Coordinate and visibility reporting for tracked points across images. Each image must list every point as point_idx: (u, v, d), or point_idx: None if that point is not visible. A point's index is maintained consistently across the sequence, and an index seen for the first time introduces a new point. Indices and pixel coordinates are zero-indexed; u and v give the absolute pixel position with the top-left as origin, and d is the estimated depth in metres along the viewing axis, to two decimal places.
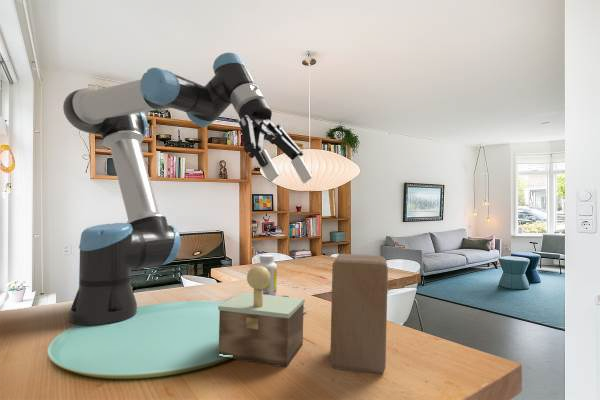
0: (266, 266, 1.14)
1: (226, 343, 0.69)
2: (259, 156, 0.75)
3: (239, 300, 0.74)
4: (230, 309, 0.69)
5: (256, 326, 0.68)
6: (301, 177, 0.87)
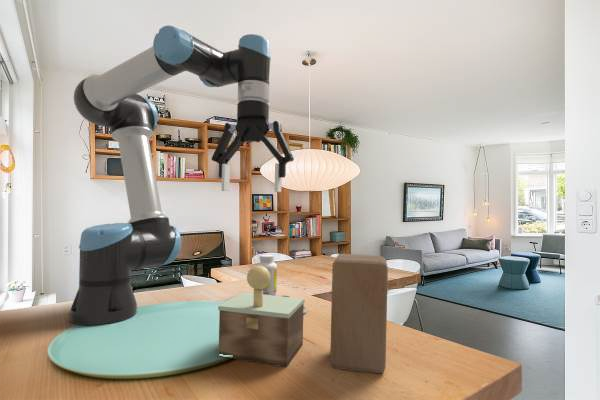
0: (266, 266, 1.14)
1: (226, 343, 0.69)
2: None
3: (239, 300, 0.74)
4: (230, 309, 0.69)
5: (256, 326, 0.68)
6: None
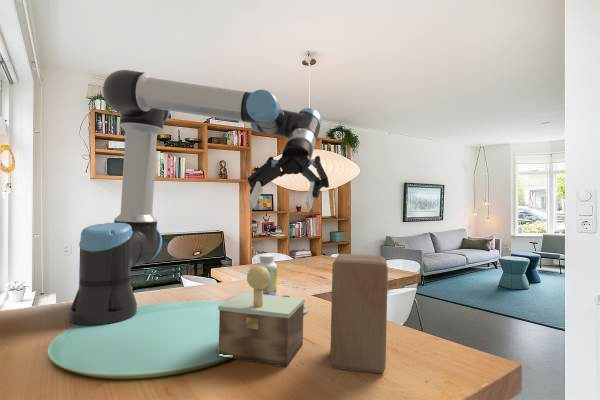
0: (266, 266, 1.14)
1: (226, 343, 0.69)
2: None
3: (239, 300, 0.74)
4: (230, 309, 0.69)
5: (256, 326, 0.68)
6: None
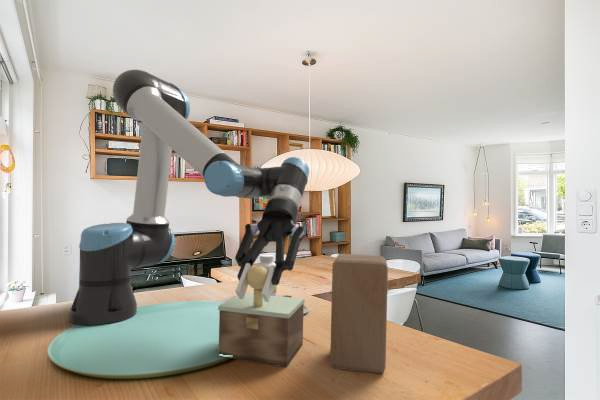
0: (266, 266, 1.14)
1: (226, 343, 0.69)
2: None
3: (239, 300, 0.74)
4: (230, 309, 0.69)
5: (256, 326, 0.68)
6: None
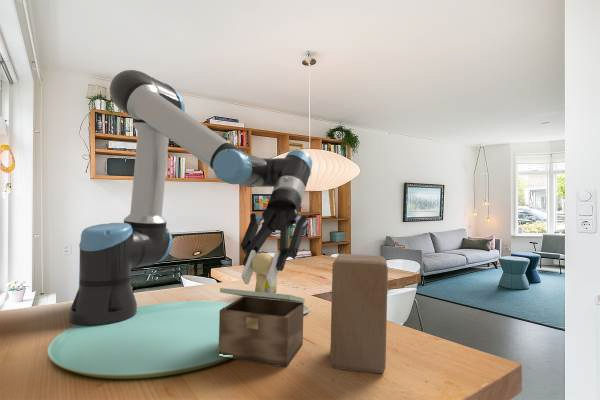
0: None
1: (226, 343, 0.69)
2: None
3: None
4: (231, 291, 0.70)
5: (256, 326, 0.68)
6: None
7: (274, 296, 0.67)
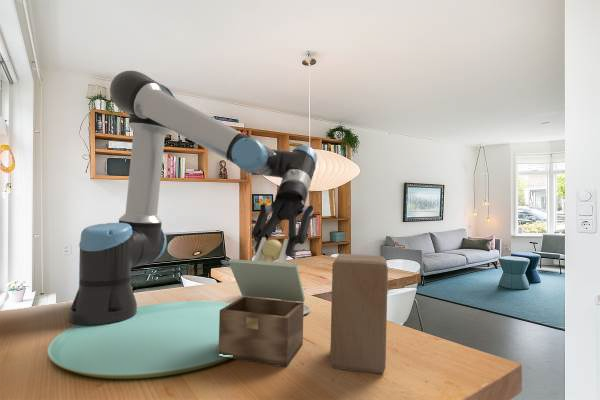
0: None
1: (226, 343, 0.69)
2: None
3: None
4: (240, 261, 0.73)
5: (256, 326, 0.68)
6: None
7: (281, 264, 0.71)
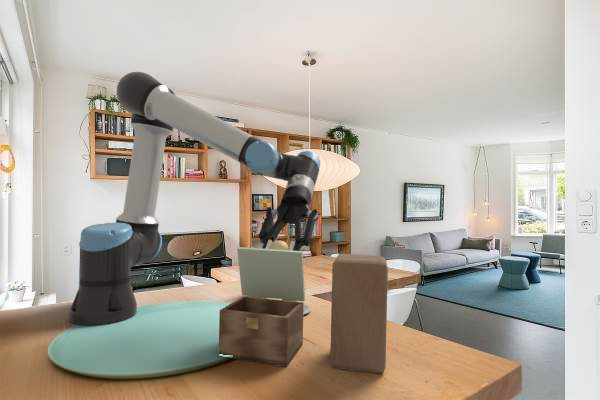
0: None
1: (226, 343, 0.69)
2: None
3: None
4: (248, 248, 0.77)
5: (256, 326, 0.68)
6: None
7: (287, 251, 0.74)
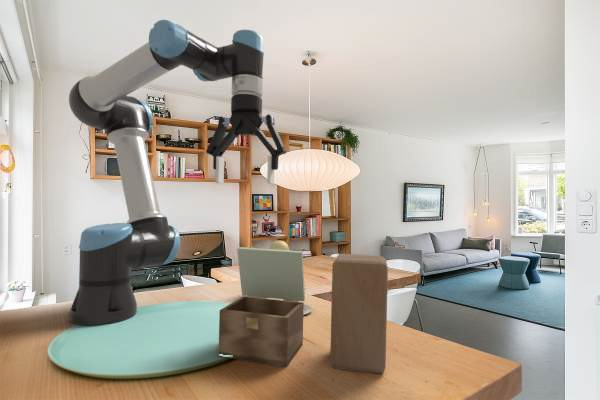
0: None
1: (226, 343, 0.69)
2: None
3: None
4: (248, 248, 0.77)
5: (256, 326, 0.68)
6: None
7: (287, 251, 0.74)
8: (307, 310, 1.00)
